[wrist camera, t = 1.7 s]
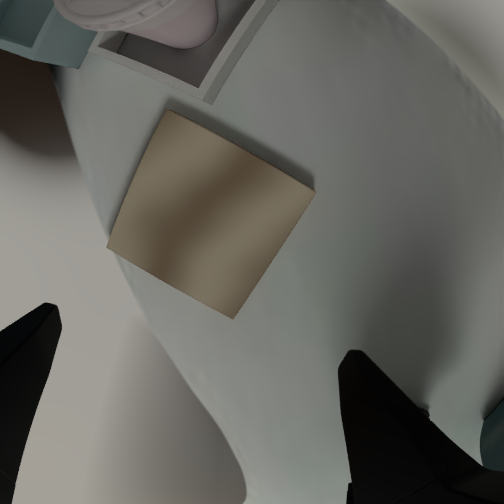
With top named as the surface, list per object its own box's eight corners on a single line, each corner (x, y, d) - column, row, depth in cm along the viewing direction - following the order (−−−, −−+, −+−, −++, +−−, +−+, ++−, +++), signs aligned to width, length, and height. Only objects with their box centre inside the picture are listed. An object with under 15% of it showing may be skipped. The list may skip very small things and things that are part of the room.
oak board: (314, 190, 19) (316, 192, 18) (234, 313, 22) (233, 319, 21) (170, 110, 18) (166, 109, 17) (111, 243, 21) (106, 247, 20)
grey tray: (280, -2, 14) (280, -19, 12) (211, 104, 17) (201, 100, 15) (170, -40, 13) (158, -56, 11) (106, 58, 16) (87, 51, 14)
